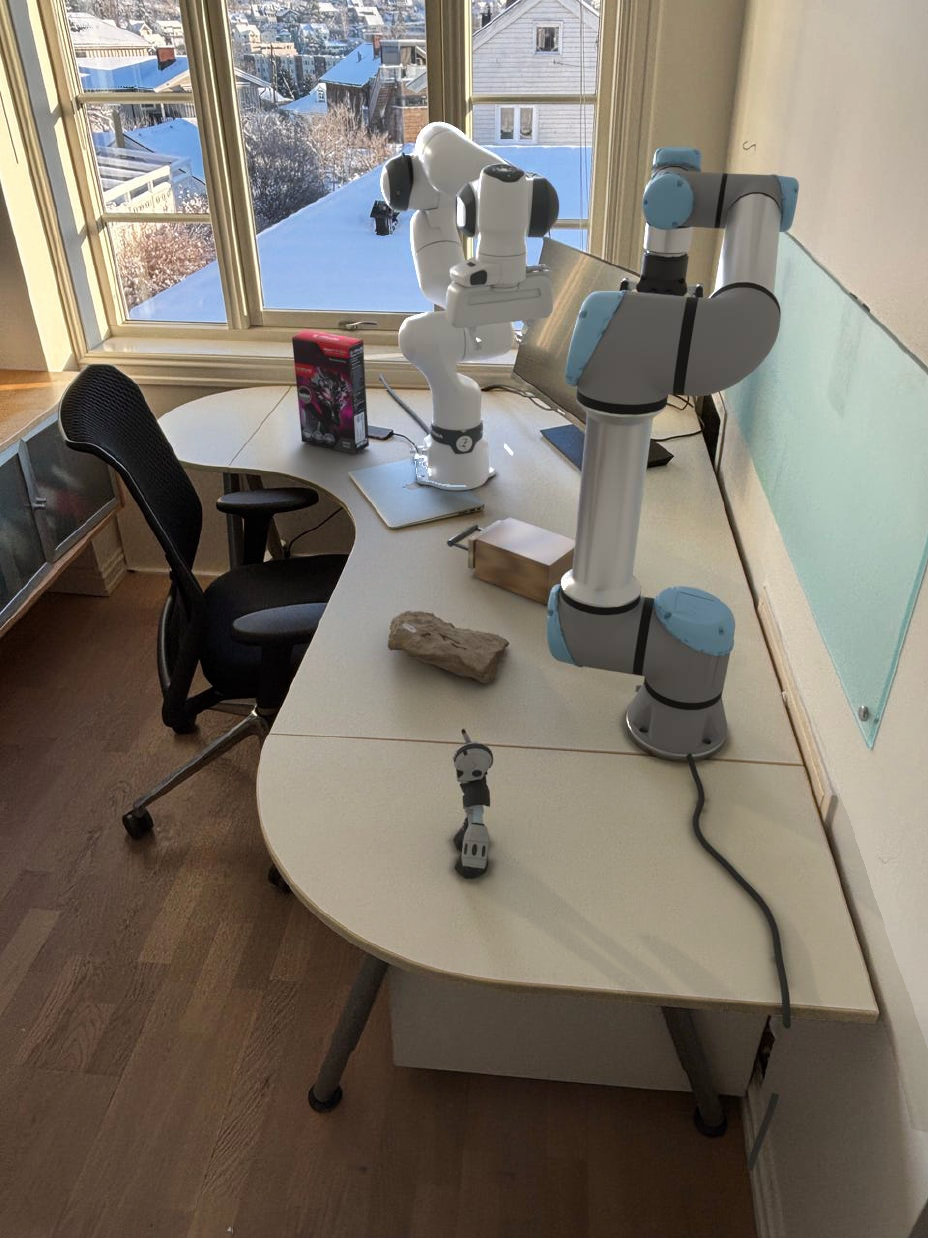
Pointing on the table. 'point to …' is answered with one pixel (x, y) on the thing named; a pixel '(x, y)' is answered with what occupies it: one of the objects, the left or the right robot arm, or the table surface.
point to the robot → (473, 807)
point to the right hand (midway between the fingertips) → (650, 377)
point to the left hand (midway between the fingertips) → (499, 346)
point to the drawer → (470, 541)
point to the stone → (447, 645)
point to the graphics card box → (331, 390)
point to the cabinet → (523, 558)
